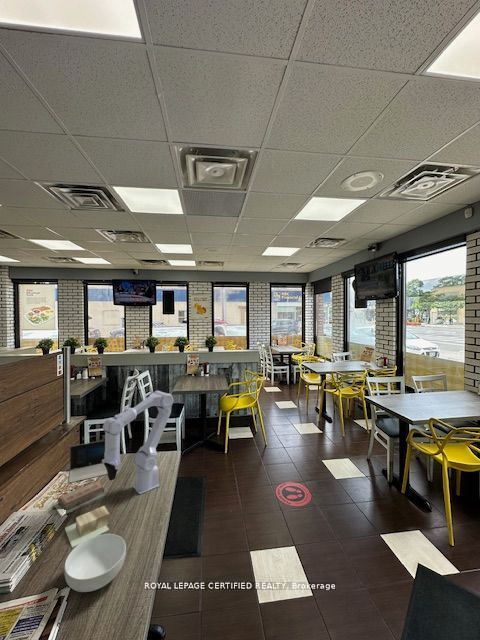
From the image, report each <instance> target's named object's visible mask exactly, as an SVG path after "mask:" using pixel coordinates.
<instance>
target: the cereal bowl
mask: <svg viewBox="0 0 480 640" xmlns="http://www.w3.org/2000/svg"><path fill="white" fill-rule="evenodd" d="M126 553H127V546H126V541H125V540H124V538H122V537H121V536H120V535H117V534H113V533H103V534H101V535H97V536H94V537H91V538H89V539H87V540H85V541H83V542H82V543H80V544H79V545H78V546H75V547H73V548H72V550H71V551H70V553H69V554H68V556H67V557H66V559H65V563H64V570H63V571H64V578H65V581H66V584H67V585H68V586H69V587H70V589H72V590H74V591H75V592H79V593H87V592H93V591H97V590H99V589H102V588H103V587H105V586H107V585H108V584H109V583H110V582H112V581H114V579H115V577H117V575H118V574H119V573H120V571H121V569H122V568H123V565H124V563H125V560H126Z"/></svg>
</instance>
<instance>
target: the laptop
mask: <svg viewBox="0 0 480 640" xmlns="http://www.w3.org/2000/svg"><path fill="white" fill-rule="evenodd" d="M104 452H105V439H104V440H98V441H97V440H96V441H92V442H87V443H81V444H76V445H75V444H74V445H71V446H70V448H69V457H70V458H69V470H70V471H69V476H68V483H69V484H70V483H75V482H80V481H85V480H89V479H92V478H97V477H101V476H105V475H108V473H107V469H106V467H105V465H104V463H103V462H102V460H103V459H104V458H105V457H104Z"/></svg>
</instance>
